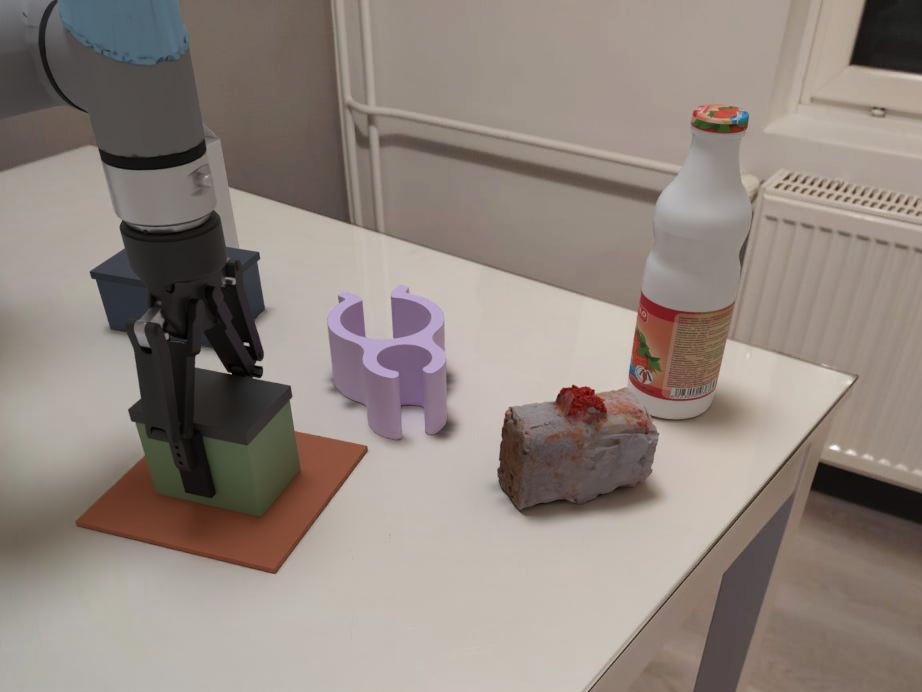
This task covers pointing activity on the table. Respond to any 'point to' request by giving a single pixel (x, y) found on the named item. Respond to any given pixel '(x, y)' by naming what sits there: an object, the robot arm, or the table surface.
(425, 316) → the clip
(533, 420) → the food item
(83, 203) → the table surface
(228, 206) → the milk carton
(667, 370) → the fruit juice
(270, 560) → the mat
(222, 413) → the box
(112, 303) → the lower tub
